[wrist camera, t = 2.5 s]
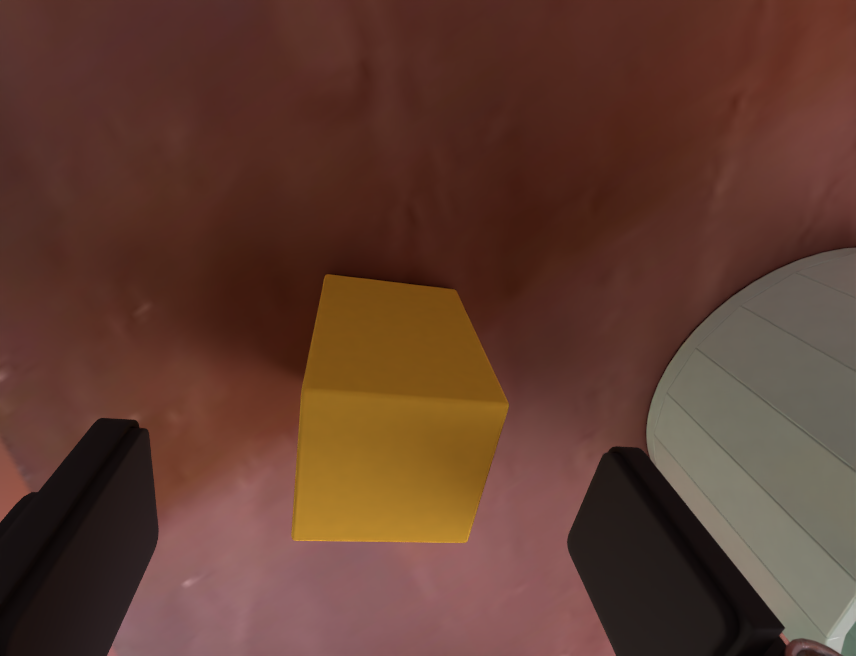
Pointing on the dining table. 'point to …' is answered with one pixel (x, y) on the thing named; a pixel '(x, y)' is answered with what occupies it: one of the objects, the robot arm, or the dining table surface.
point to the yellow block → (393, 416)
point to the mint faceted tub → (774, 440)
